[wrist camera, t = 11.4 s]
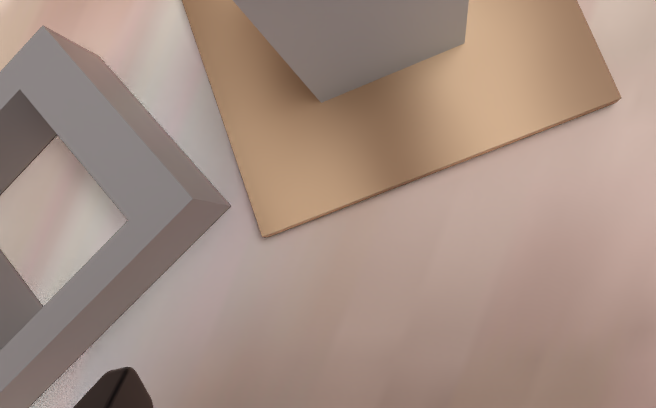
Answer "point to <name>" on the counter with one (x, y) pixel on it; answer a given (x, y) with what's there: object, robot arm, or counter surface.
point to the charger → (356, 37)
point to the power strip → (116, 181)
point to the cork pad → (394, 105)
